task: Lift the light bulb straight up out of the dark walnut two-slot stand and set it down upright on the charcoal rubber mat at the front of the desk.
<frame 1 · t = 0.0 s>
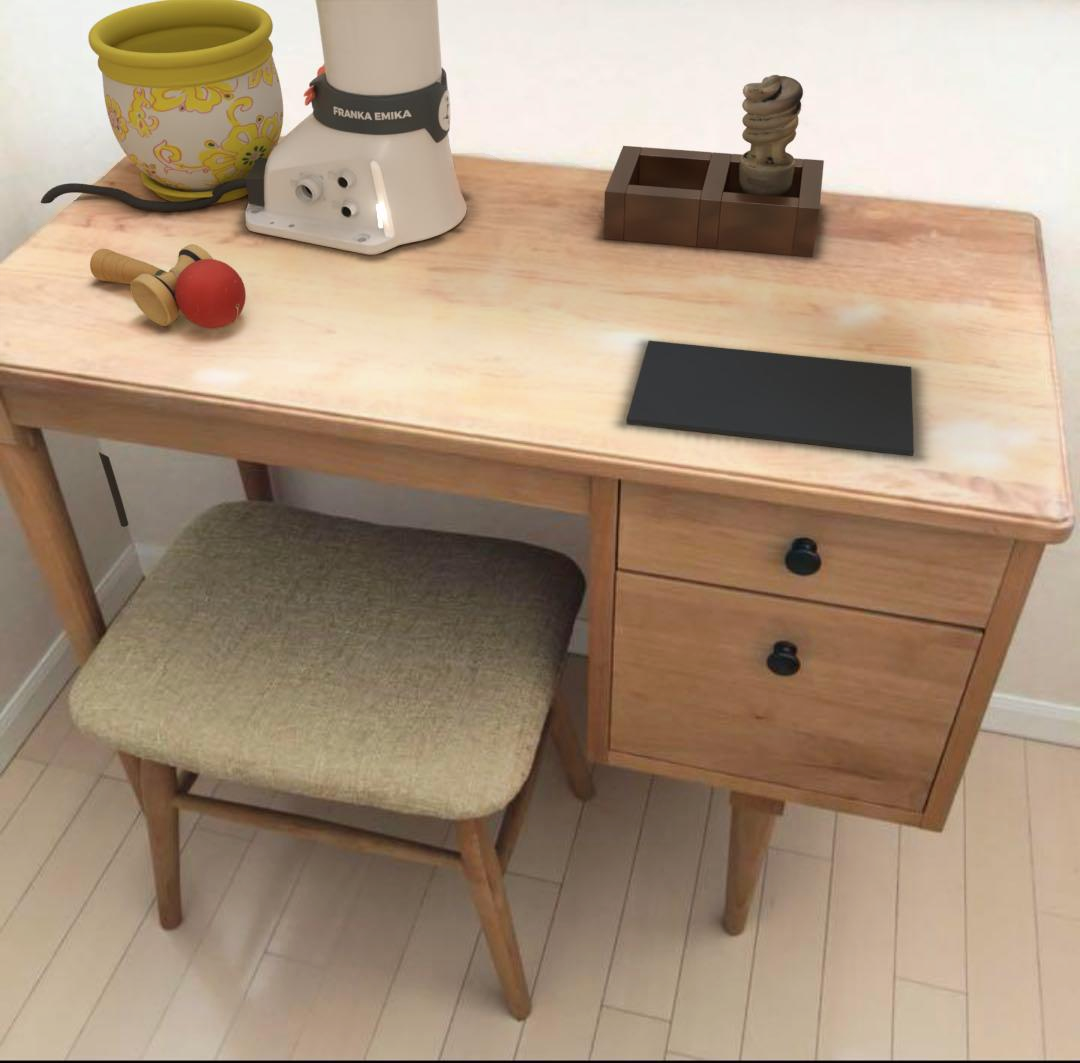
kendama: (169, 307, 112), on the table
flowerpot: (211, 182, 132), on the table
mat: (772, 397, 99), on the table
stand: (712, 222, 123), on the table
light bulb: (758, 228, 122), resting in stand
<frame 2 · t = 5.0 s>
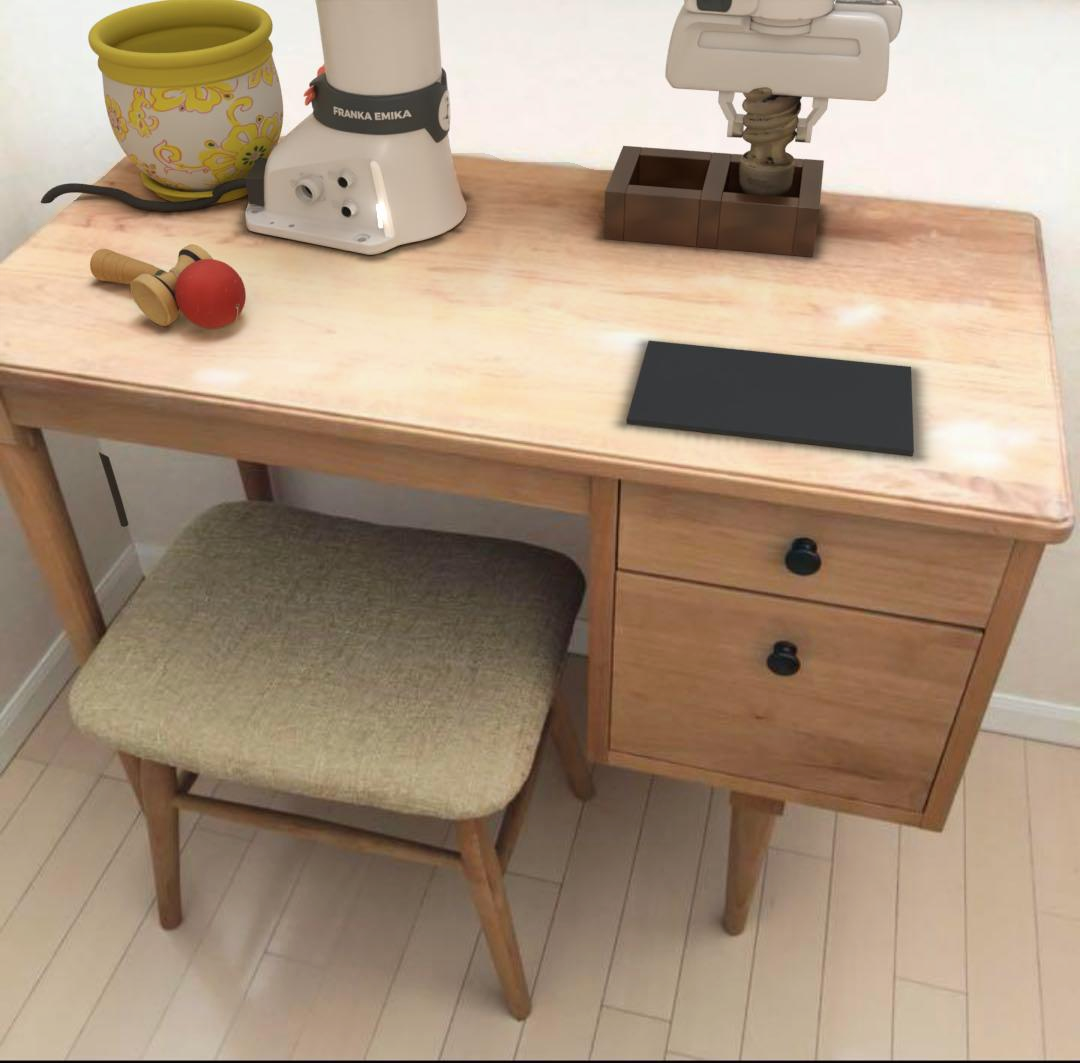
hand: (768, 137, 116), 9 cm above the table, tool pointing down, fingers closed on light bulb, 5 cm apart
light bulb: (758, 228, 122), resting in stand, touching gripper
everything else where it was.
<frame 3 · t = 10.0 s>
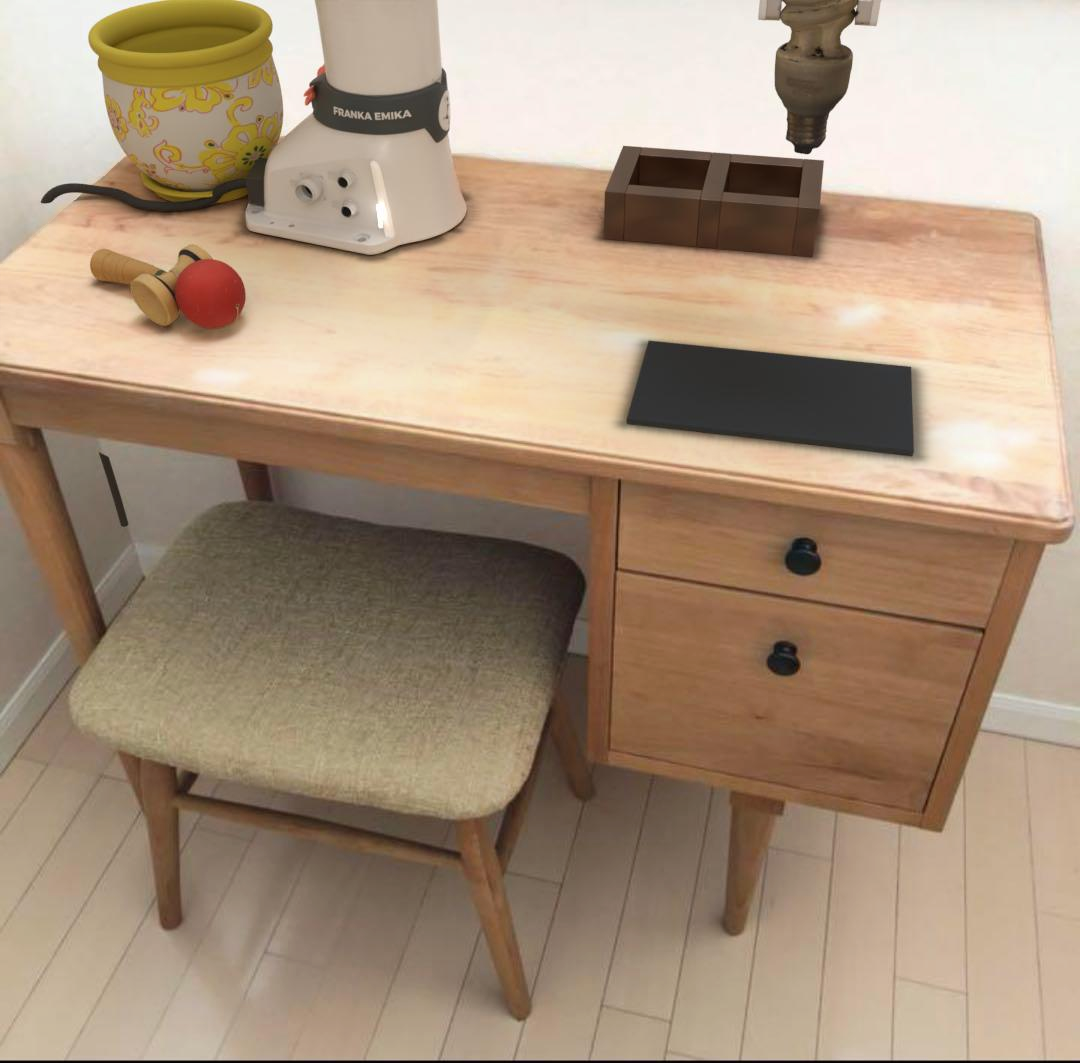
hand: (816, 20, 83), 29 cm above the table, tool pointing down, fingers closed on light bulb, 5 cm apart
light bulb: (799, 152, 89), point 19 cm above the table, touching gripper
everything else where it was.
when the fingers open (10 cm above the table, at t = 14.8 s): light bulb stays where it is, resting on mat.
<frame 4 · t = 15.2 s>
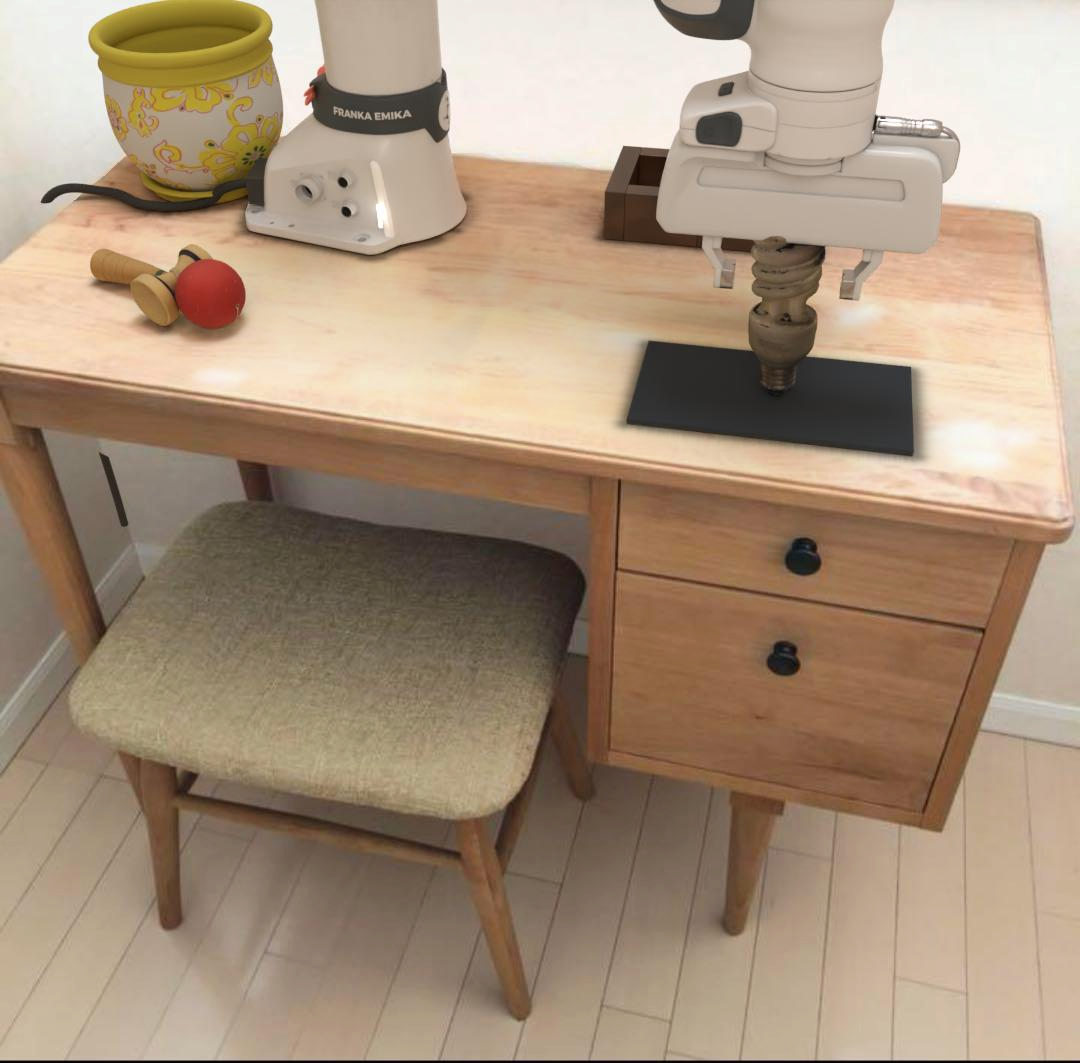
hand: (785, 290, 93), 10 cm above the table, tool pointing down, fingers open, 8 cm apart
light bulb: (772, 393, 99), resting on mat
everything else where it was.
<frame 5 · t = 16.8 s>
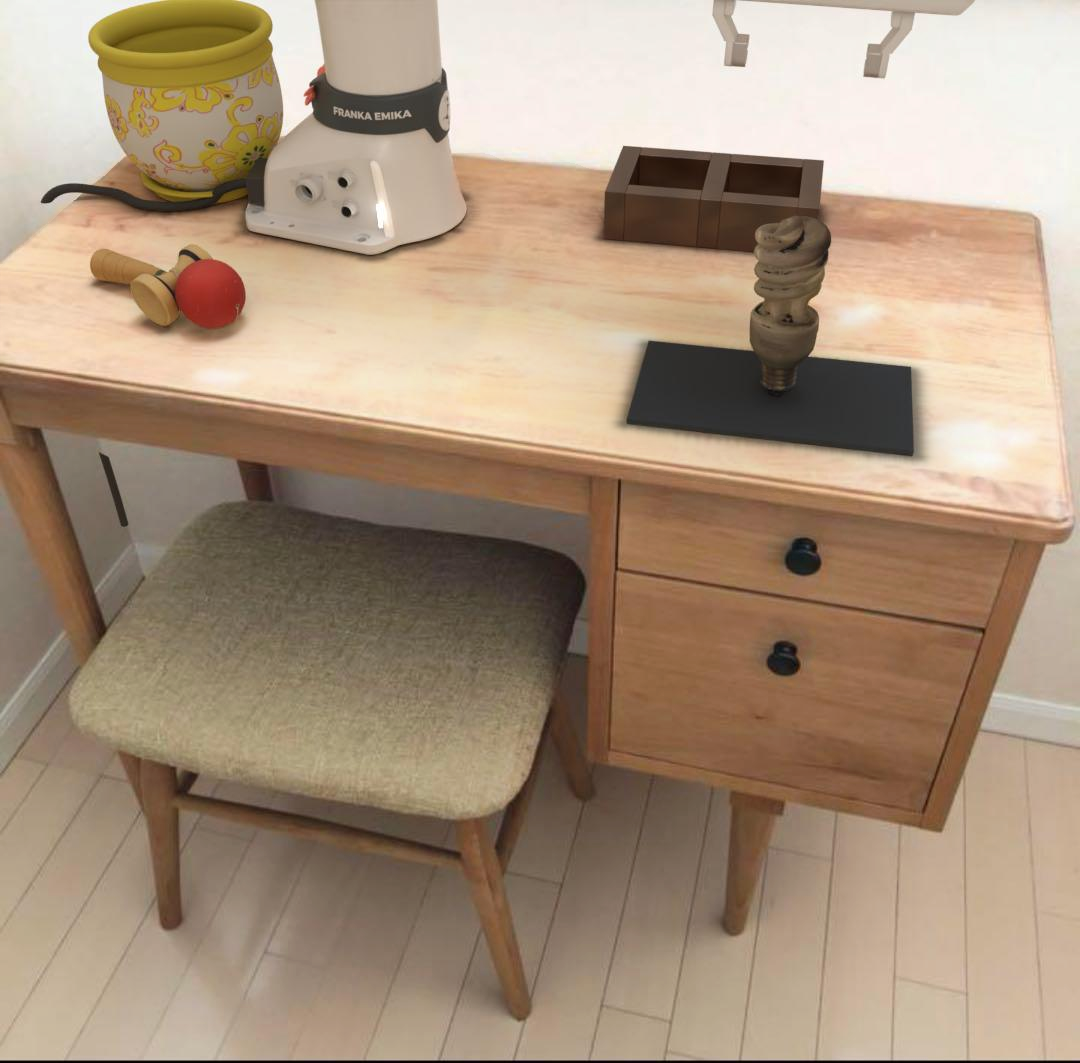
hand: (804, 69, 84), 26 cm above the table, tool pointing down, fingers open, 8 cm apart
nothing on the table moved.
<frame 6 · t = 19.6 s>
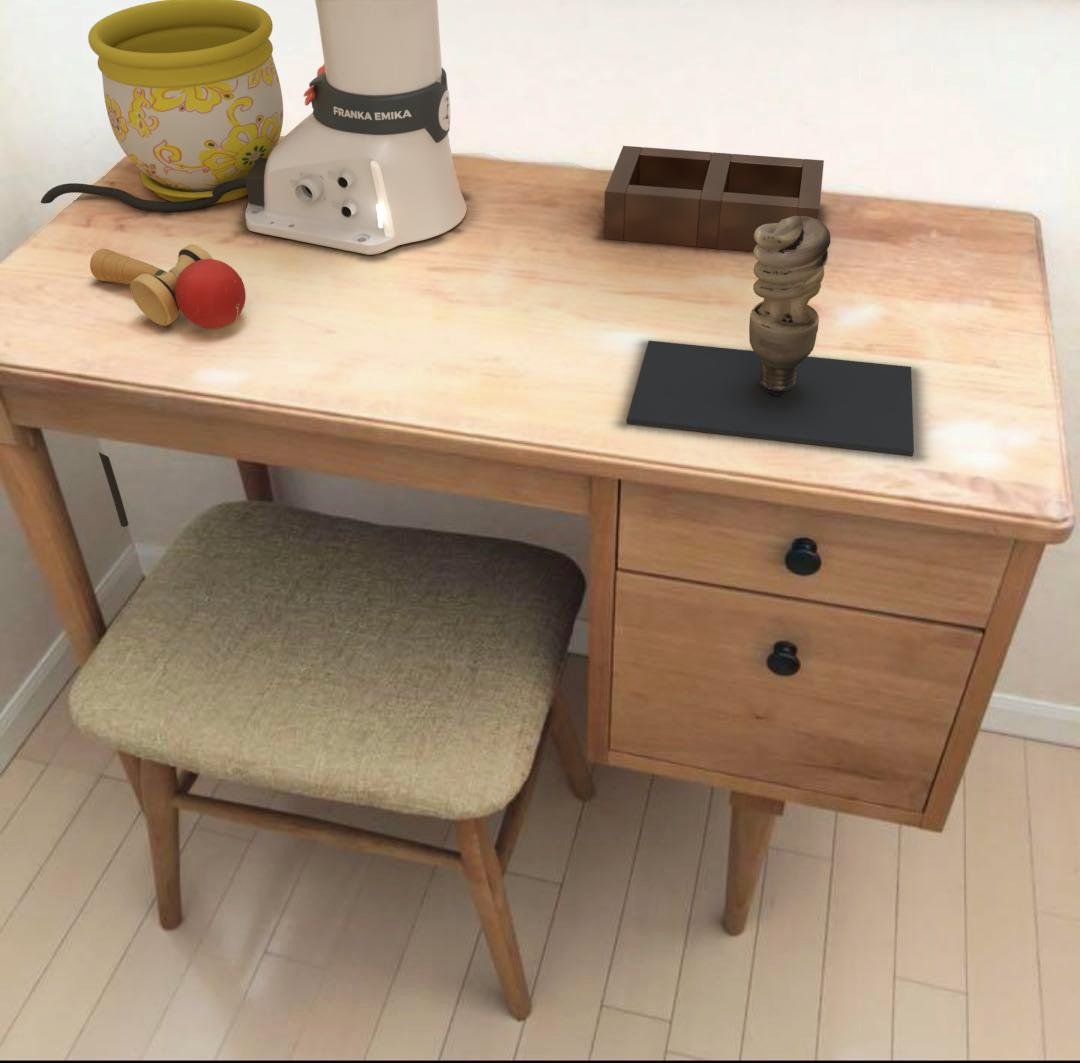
nothing on the table moved.
at the end: light bulb inside the target area on the mat (0.1 cm from its centre), point 0.3 cm above the mat's base; light bulb touching mat; the gripper is holding nothing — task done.
